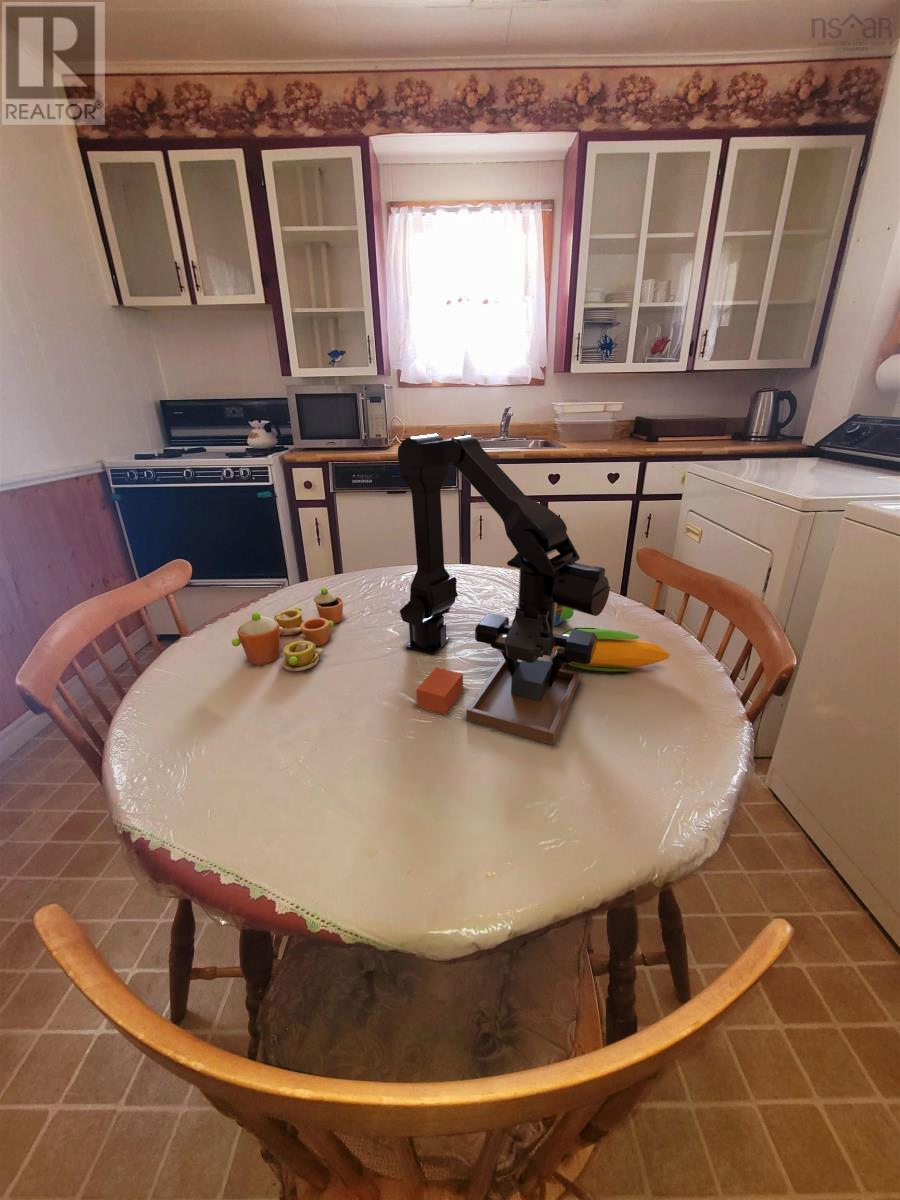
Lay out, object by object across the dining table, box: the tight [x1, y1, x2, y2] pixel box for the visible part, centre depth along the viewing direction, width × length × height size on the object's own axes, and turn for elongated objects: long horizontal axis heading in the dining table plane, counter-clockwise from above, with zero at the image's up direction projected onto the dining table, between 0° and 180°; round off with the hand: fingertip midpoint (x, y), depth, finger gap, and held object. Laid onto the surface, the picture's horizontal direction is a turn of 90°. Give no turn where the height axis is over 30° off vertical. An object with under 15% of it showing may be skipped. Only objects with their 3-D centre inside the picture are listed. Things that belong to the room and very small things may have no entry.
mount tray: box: [466, 657, 580, 746], centre depth 79 cm, size 14×17×2 cm
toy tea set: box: [231, 587, 344, 672], centre depth 97 cm, size 26×16×10 cm, turn 173°
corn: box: [553, 627, 671, 672], centre depth 86 cm, size 7×8×20 cm
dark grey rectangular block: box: [511, 659, 552, 701], centre depth 81 cm, size 5×7×3 cm
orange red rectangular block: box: [416, 666, 464, 715], centre depth 80 cm, size 5×7×3 cm
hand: (532, 681), depth 81 cm, fingers open, 6 cm apart
